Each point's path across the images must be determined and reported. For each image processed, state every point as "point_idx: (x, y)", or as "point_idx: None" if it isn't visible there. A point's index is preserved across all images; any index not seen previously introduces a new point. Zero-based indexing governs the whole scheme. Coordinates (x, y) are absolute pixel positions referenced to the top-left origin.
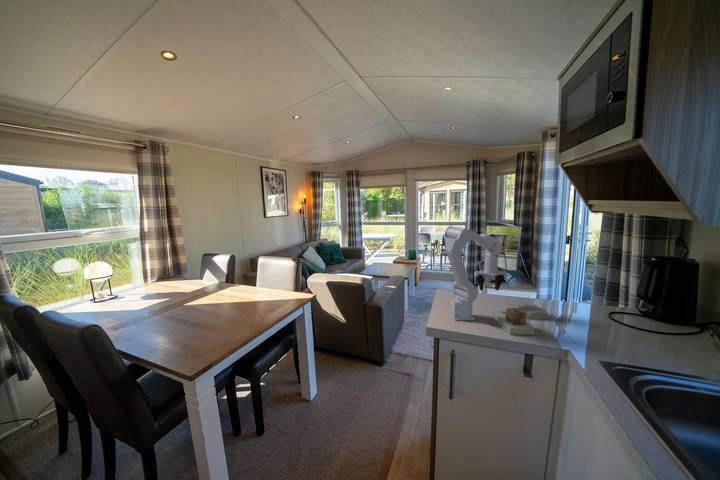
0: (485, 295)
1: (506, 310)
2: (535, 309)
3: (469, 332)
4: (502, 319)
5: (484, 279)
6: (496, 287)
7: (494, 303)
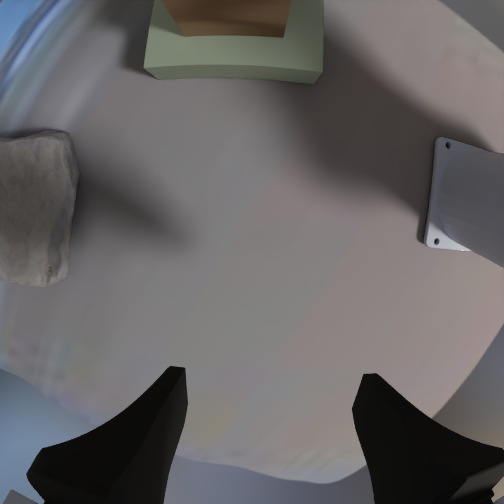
0: None
1: (290, 1)
2: (2, 182)
3: (491, 44)
4: (312, 30)
5: (449, 468)
6: (179, 403)
7: None
